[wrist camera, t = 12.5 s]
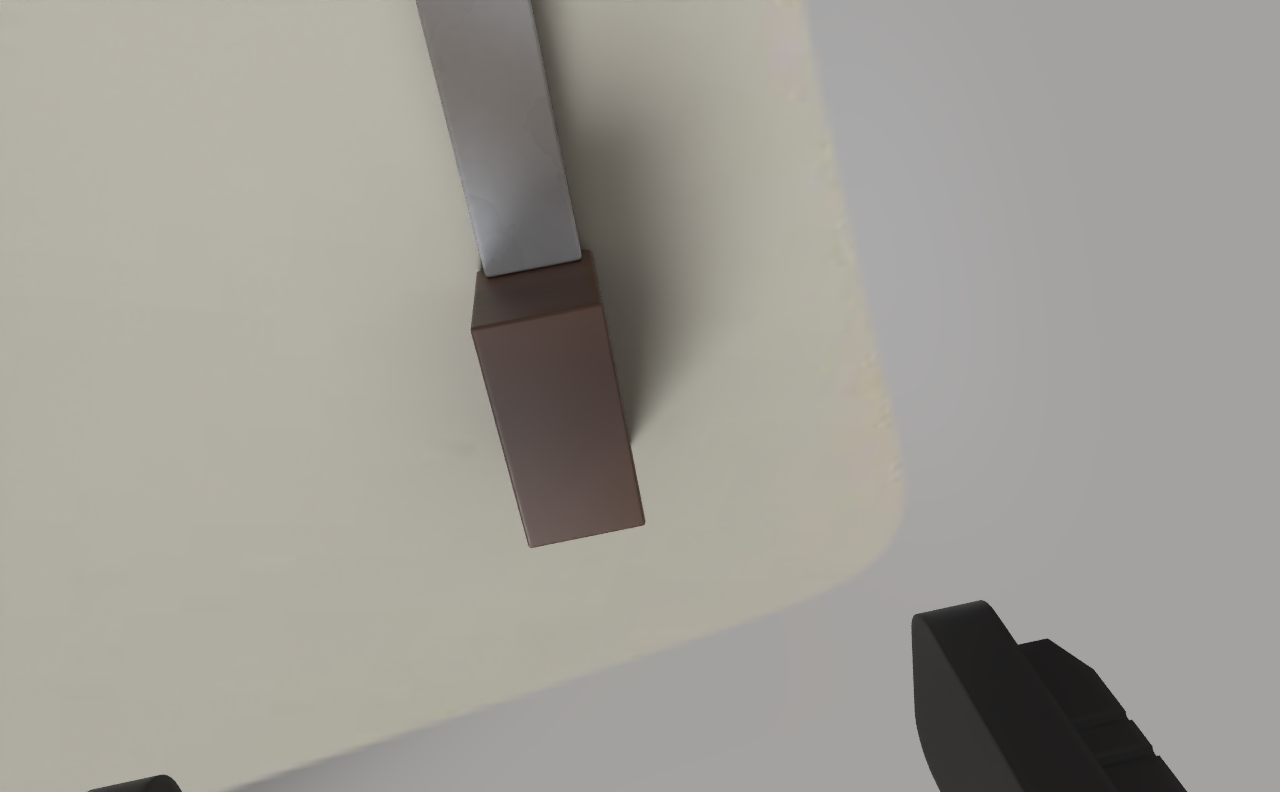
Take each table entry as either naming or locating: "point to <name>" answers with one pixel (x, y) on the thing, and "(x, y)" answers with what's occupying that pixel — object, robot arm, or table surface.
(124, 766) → the table surface
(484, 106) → the knife
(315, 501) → the table surface
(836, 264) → the table surface
